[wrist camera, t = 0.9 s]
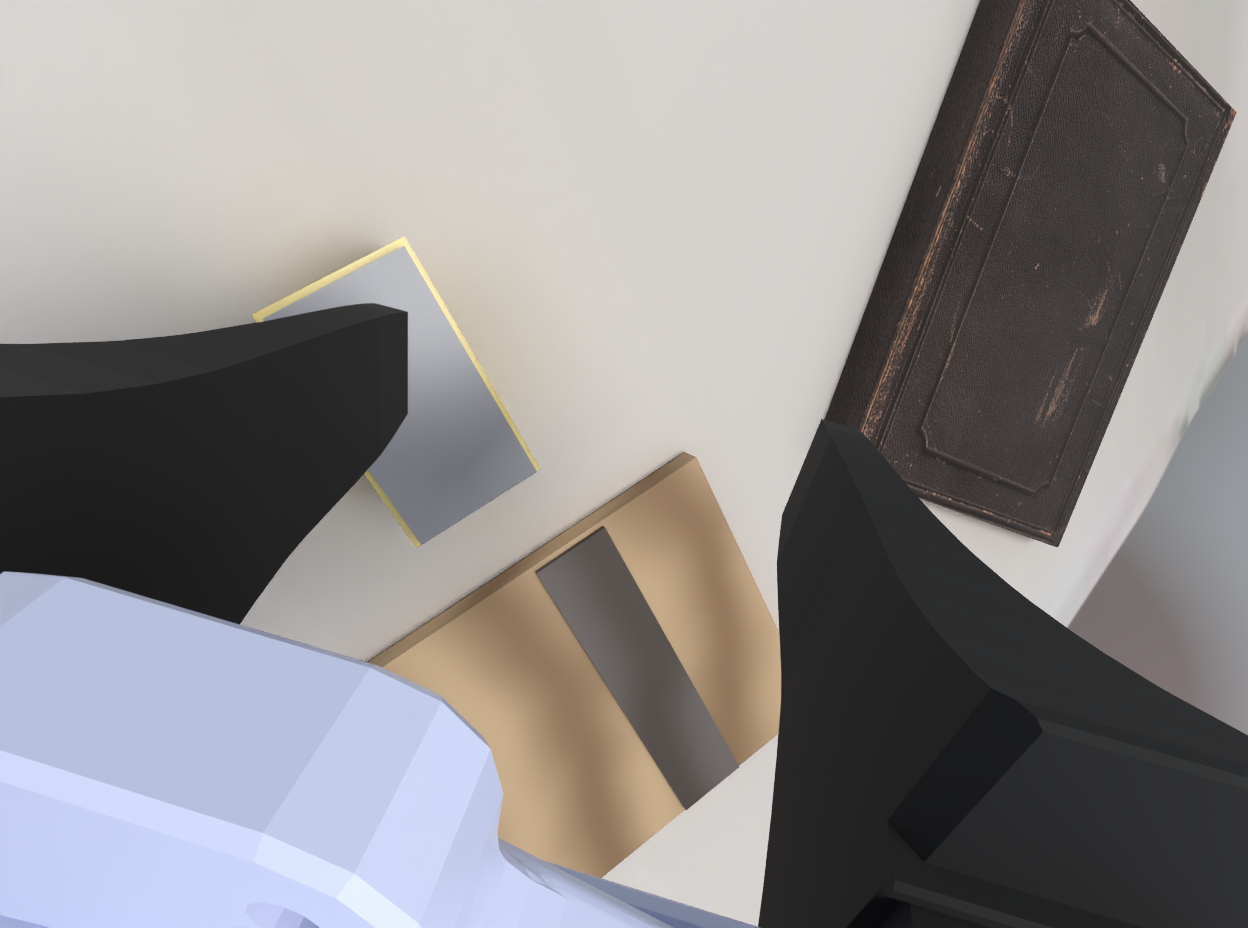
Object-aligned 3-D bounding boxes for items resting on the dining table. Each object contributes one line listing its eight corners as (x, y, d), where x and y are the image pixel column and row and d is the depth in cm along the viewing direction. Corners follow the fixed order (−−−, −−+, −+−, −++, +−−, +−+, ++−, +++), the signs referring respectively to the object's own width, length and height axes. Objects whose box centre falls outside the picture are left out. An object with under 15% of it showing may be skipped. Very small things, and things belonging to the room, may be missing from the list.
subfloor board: (432, 989, 28) (436, 1018, 27) (206, 768, 22) (199, 793, 21) (799, 693, 32) (816, 707, 31) (684, 452, 27) (699, 458, 26)
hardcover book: (1184, 122, 35) (1237, 111, 33) (1018, 534, 37) (1058, 547, 35) (993, -62, 28) (1046, -91, 26) (801, 456, 30) (835, 467, 28)
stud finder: (398, 497, 23) (418, 555, 18) (271, 312, 21) (248, 314, 15) (498, 436, 24) (546, 474, 19) (388, 251, 21) (407, 233, 16)
